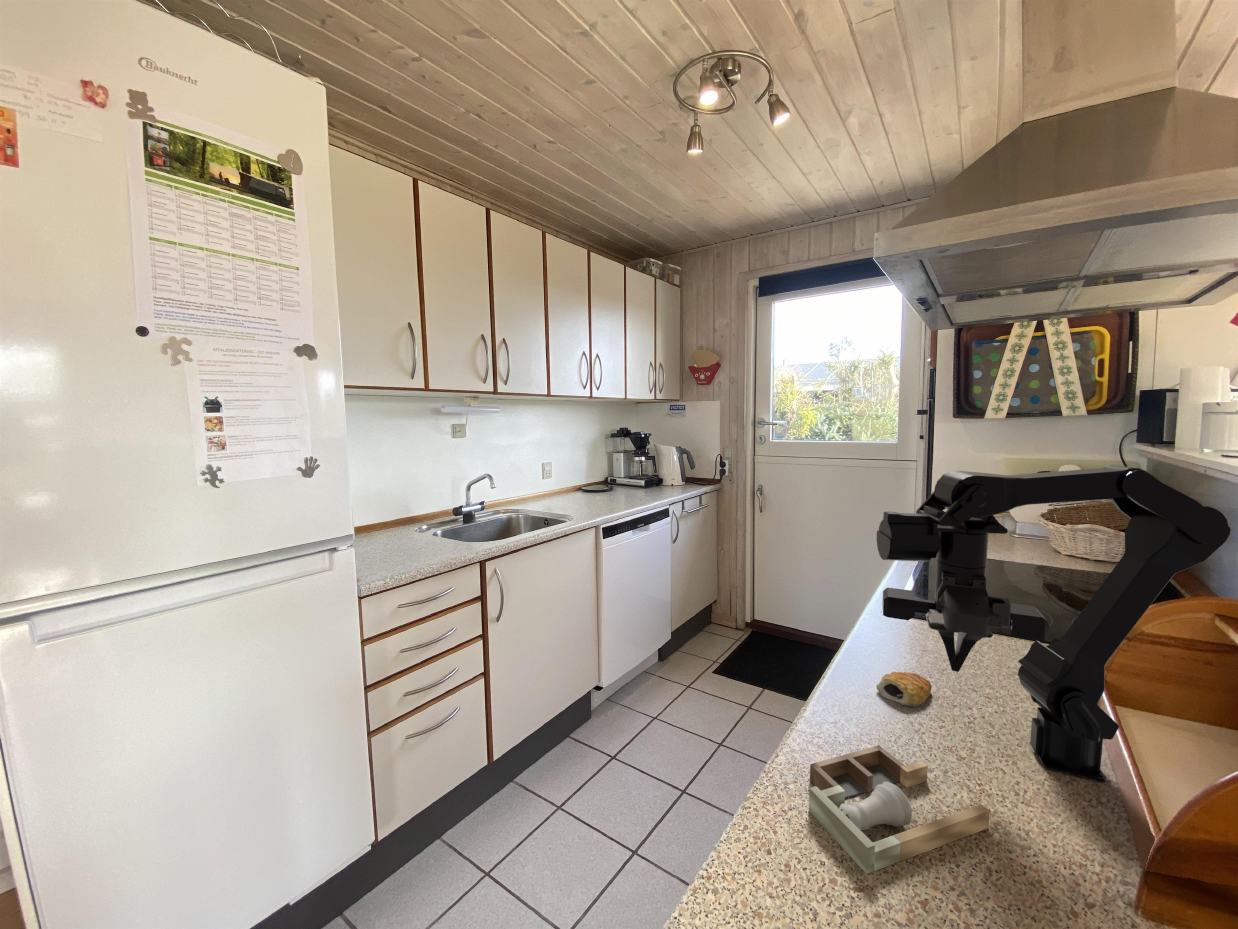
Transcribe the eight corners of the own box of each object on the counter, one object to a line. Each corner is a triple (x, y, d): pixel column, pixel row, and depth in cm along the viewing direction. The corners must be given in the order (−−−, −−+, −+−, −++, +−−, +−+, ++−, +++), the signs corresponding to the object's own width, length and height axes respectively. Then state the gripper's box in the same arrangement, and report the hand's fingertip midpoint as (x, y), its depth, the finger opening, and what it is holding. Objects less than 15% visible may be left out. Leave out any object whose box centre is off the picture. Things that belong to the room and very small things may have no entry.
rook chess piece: (878, 778, 63) (824, 797, 60) (903, 782, 59) (846, 803, 57) (894, 820, 61) (838, 841, 59) (920, 827, 57) (862, 850, 55)
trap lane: (893, 755, 71) (894, 735, 71) (988, 828, 59) (990, 804, 58) (786, 786, 65) (786, 765, 65) (866, 874, 53) (867, 847, 53)
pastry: (903, 678, 92) (904, 659, 92) (942, 696, 86) (944, 675, 86) (873, 693, 87) (874, 672, 87) (912, 713, 82) (913, 691, 81)
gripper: (886, 570, 67) (881, 682, 68) (1068, 590, 58) (1058, 718, 60) (884, 549, 76) (880, 648, 78) (1039, 565, 68) (1031, 674, 70)
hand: (954, 670), depth 71 cm, fingers closed
